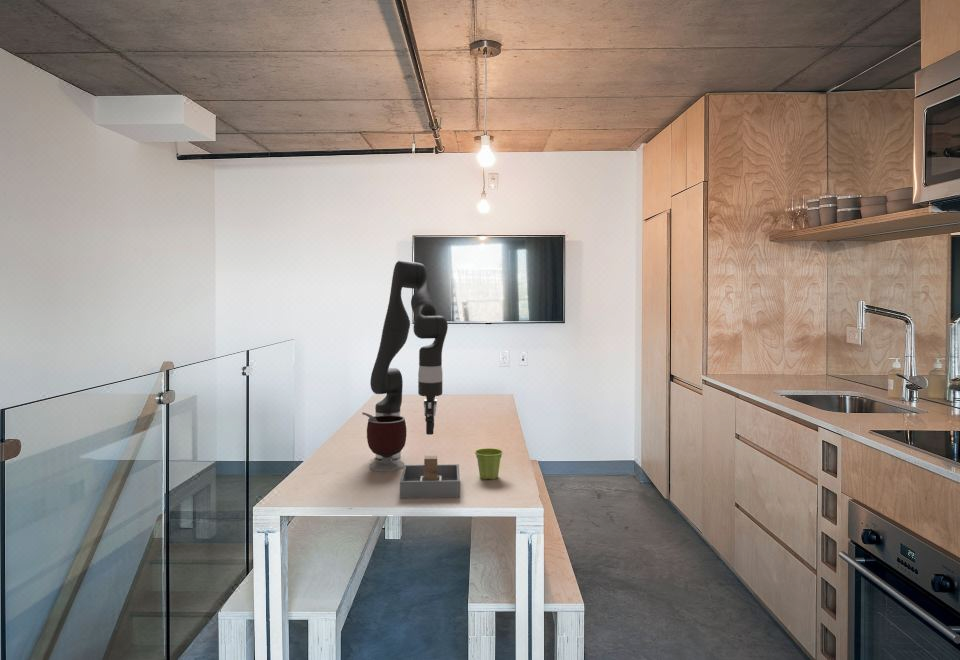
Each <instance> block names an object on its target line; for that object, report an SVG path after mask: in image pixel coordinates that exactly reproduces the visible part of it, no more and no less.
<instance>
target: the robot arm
mask: <svg viewBox="0 0 960 660" xmlns="http://www.w3.org/2000/svg"><path fill="white" fill-rule="evenodd" d="M427 271H428V270H427V268H426V266H425V265H424V264H423V263H421V262H415V261H409V260H401V259H400V260H398V261H396V263H395V264H394V268H393V272H392V278H391V287H390V292H389V298H388V299H389V301H388V303H387V305H388V306H387V310H386V314H385V319H384V322H383V328H382V332H381V338H380V343H379V348H378V351H377V355H376V359H375V362H374V365H373V368H372V372H371V373H370V374H371V375H370V382H369V383H370V389H371V391H372V393H374V394H375V395H386V396H385V397H384V398H383V399H382V400H381V401H378V402H377V403H375V407H374V409H375V416H382V415H396V416H401V407H402V404H403V403H402V401H403V388H404V387H403V375H402V373H401V372H402V371H400V369H398V368H396V367H390V365H391V363H392V361H393V359H394V358H395V357H396V356H397V354H398V353H399V352H400V351H401V350H402V348H403V347H404V346H405V344H406V342H407V341H408V340H407V339H408V337H409V333H410V326H411V321H410V318H409V315H408V312H407V310H406V308H405V306H404V302H403V299H402V289H403V288H405V289H412V290H416V291H415V292H414V293H413V294H412V297H411V299H410V307H411V309H412V313H413V315H414V316H413V317H414V322H413V327H412V328H413V333H414V335H415V336H416V337H417V338H418V339H429V340H430V339H434V340H433V342H432V343H431V344H428V345H425V346H421V347H420V348H419V351H418V365H419V366H418V375H417V376H418V379H417V380H418V382H417V383H418V389H417V390H418V392H417V393H418V395H419V396H421V397H425V399H424V401H423V408H424V410H423V412H424V416H425V418H424V420H425V427H426V428H425V429H426V430H425V431H426V435H429V436H430V435H433V434H434V431H435V430H434V428H435V417H436V412H437V406H438V404H437V403H438V400H437V399H436V397H439V396H442V395H443V366H442V364H443V363H442V362H443V358H442V356H443V355H442V353H443V348H444V344H445V340H446V337H447V333H448V326H449V324H448V321H447V320H446V318H445V317H444V316H443V315H437V310H436V307H435V304H434V302H433V300H432V297H431V292H430V283H429V277H428V272H427ZM401 452H402V451H401ZM401 452H399V453H397V454H395V455H393V456H391V459H392V460H397V459H398V458H400V457H401V456H402V455H401V454H402V453H401ZM375 458H377V460H378V459H379V460H382V459H383V457H382V456H380V455H377V454H375Z"/></svg>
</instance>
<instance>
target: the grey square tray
mask: <svg viewBox="0 0 960 660" xmlns="http://www.w3.org/2000/svg"><path fill="white" fill-rule="evenodd" d="M402 469H403V470H402V473H401V475H400V481H399V499H437V498H438V499H439V498H440V499H441V498H445V499H446V498H447V499H449V498H461V474H460V464H458V463H457V464H437V481H424V464H407V465H406V464H404V467H403V468H402Z"/></svg>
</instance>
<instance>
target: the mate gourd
mask: <svg viewBox="0 0 960 660" xmlns="http://www.w3.org/2000/svg"><path fill="white" fill-rule="evenodd" d="M362 415H363V416H366V417H368V419H367V421H368V422H367V425H366V426H367V427H366V439H367V440H366V441H367V444H368V448H369V449H370V451H371V452H372V453H373V454H375V455H376V454H377V455H380V456H382V457H383V459H380V460H377V461H373V462H371V463H370V464H369V469H370V470H371V471H375V472H395V471H399V470H401V469H403V468H404V465H405V463H404V462H403V461H401V460H397V459H391V456H393V455H395V454H397V453H399V452H402V450H403V449H404V448H405V445H406V441H407V425H406V417H404V416H401V415H400V416H396V415H382V416H376V415H374V416H373V415H372V414H370V413H366V412H362Z"/></svg>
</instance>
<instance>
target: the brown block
mask: <svg viewBox="0 0 960 660" xmlns="http://www.w3.org/2000/svg"><path fill="white" fill-rule="evenodd" d="M423 458H424V459H423V461H424V462H423V463H424V464H423V465H424V481H437V465H438V455H437V454H434V455H432V454H431V455H424V457H423Z"/></svg>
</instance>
